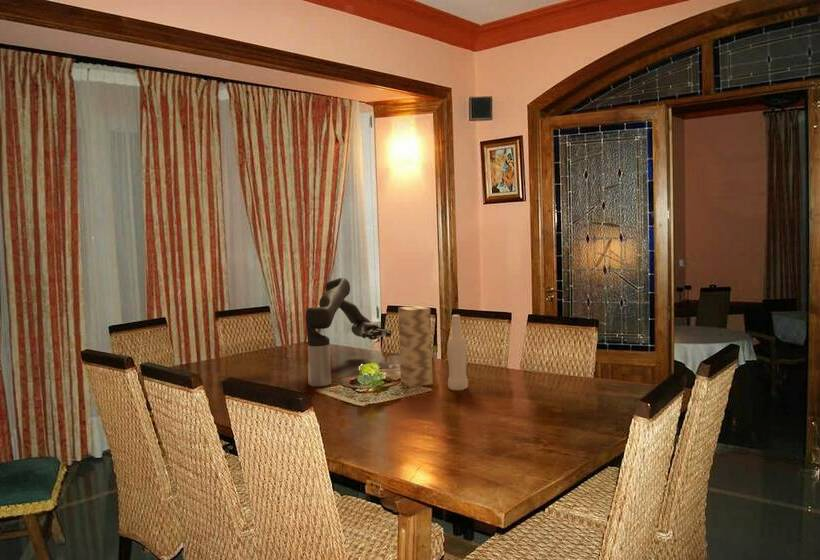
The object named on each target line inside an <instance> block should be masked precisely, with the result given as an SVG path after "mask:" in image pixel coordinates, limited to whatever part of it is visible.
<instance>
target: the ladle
mask: <svg viewBox="0 0 820 560" xmlns="http://www.w3.org/2000/svg"><path fill="white" fill-rule="evenodd" d="M386 357H387V359H386V360H387V361H381V362H378V367H379V366H380V368H381V369H393V368H400V354H399V355H398V354H397V355H390V356H386ZM381 369H380V370H381Z"/></svg>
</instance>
